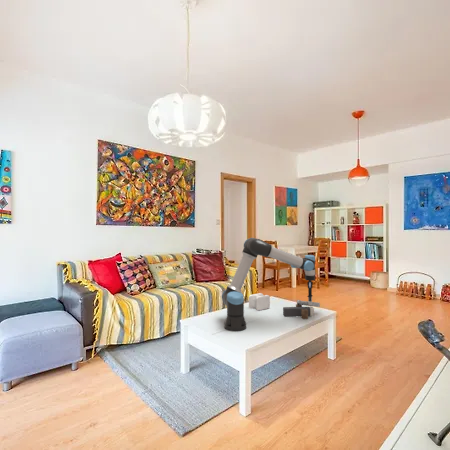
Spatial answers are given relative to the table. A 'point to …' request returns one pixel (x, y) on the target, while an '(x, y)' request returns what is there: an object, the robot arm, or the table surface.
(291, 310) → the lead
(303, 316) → the brown wooden bar
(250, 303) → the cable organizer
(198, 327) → the table surface
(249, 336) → the table surface
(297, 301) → the latch
